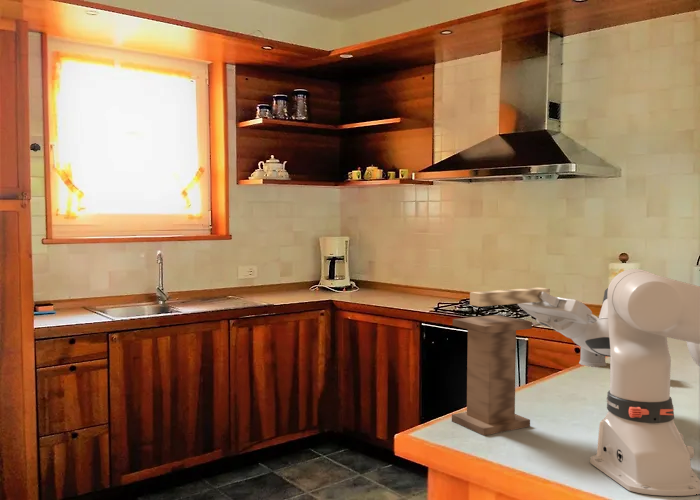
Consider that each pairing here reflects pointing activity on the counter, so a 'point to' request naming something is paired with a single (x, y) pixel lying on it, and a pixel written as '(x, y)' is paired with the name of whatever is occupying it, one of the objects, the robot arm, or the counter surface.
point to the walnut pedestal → (491, 374)
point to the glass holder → (591, 359)
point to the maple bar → (506, 296)
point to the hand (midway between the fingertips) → (533, 293)
